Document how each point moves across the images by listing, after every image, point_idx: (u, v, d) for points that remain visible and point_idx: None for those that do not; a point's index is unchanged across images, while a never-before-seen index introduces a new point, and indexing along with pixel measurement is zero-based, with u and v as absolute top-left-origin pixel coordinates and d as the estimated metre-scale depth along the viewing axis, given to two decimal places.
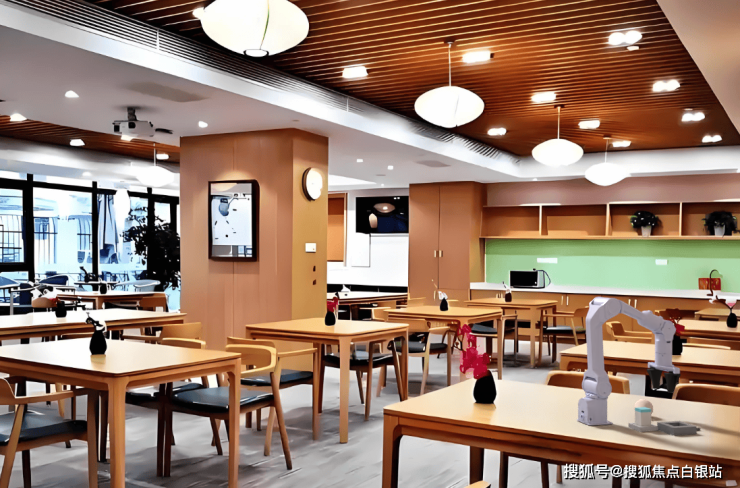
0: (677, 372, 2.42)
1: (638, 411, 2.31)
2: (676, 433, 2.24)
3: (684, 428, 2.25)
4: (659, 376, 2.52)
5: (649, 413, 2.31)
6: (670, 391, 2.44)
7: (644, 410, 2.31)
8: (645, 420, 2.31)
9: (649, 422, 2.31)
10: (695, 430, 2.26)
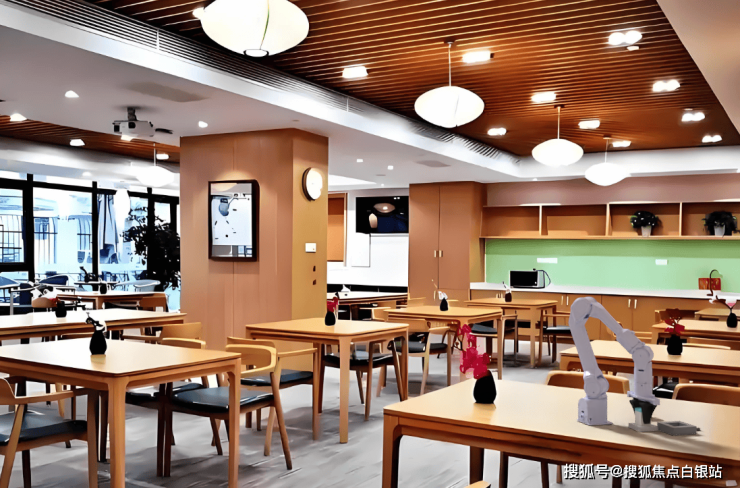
0: (657, 403, 2.25)
1: (638, 411, 2.31)
2: (676, 433, 2.24)
3: (684, 428, 2.25)
4: None
5: None
6: (646, 422, 2.30)
7: None
8: None
9: None
10: (695, 430, 2.26)
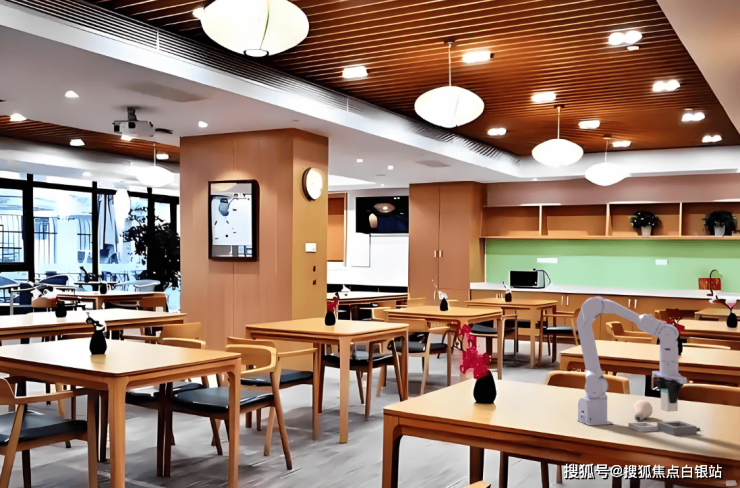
0: (684, 382, 2.23)
1: (664, 392, 2.29)
2: (676, 433, 2.24)
3: (684, 428, 2.25)
4: None
5: None
6: (672, 401, 2.27)
7: None
8: None
9: (676, 404, 2.28)
10: (695, 430, 2.26)
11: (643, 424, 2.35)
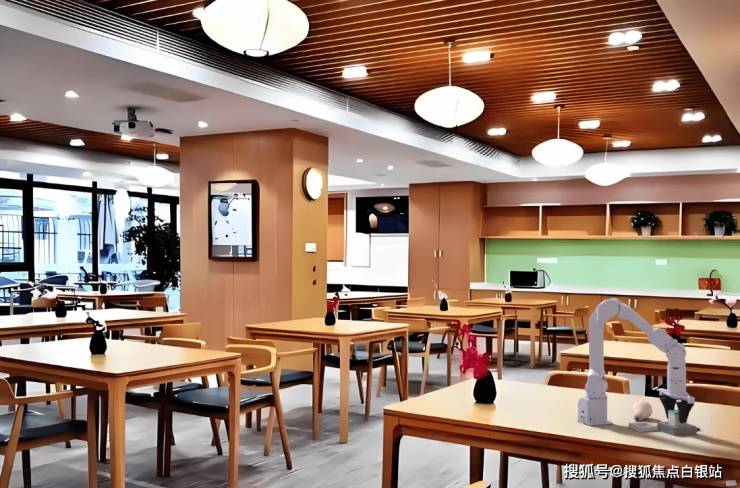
0: (692, 402, 2.22)
1: (672, 414, 2.28)
2: (676, 433, 2.24)
3: (684, 428, 2.25)
4: (673, 405, 2.32)
5: None
6: (683, 421, 2.25)
7: (678, 413, 2.27)
8: (679, 422, 2.27)
9: (683, 425, 2.27)
10: (695, 430, 2.26)
11: (643, 424, 2.35)
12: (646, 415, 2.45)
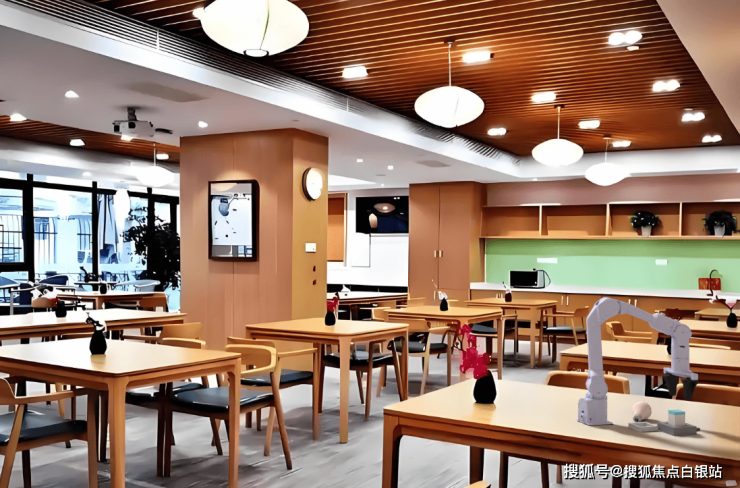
0: (695, 378, 2.30)
1: (672, 414, 2.28)
2: (676, 433, 2.24)
3: (684, 428, 2.25)
4: (676, 382, 2.40)
5: (682, 416, 2.27)
6: (688, 398, 2.32)
7: (678, 413, 2.27)
8: (679, 422, 2.27)
9: (683, 425, 2.27)
10: (695, 430, 2.26)
11: (643, 424, 2.35)
12: (645, 416, 2.43)
